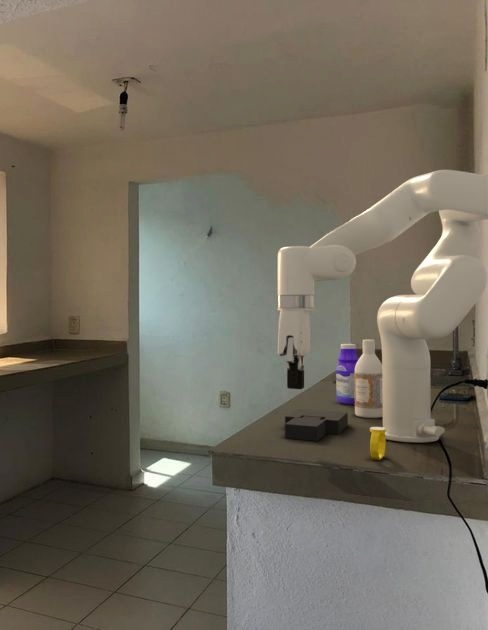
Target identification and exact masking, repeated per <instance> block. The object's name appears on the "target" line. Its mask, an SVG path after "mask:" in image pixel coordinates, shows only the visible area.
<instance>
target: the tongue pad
mask: <svg viewBox="0 0 488 630" xmlns="http://www.w3.org/2000/svg"><path fill="white" fill-rule="evenodd" d="M326 434H327V433H326V420H322V418H321V417H308V416H304V417H302V418H293V419H292V420H290V421H289V422H287V423H286V424H285V423H284V438H285V439H291V440H302V441H313V442H318V441H319V440H320V439H322V438H323V437H324V436H325V435H326Z"/></svg>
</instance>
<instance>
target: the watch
mask: <svg viewBox="0 0 488 630" xmlns="http://www.w3.org/2000/svg"><path fill="white" fill-rule="evenodd" d="M369 432H370V433H371V434H370V441H369V449H370V450H369V452H370V457H371V458H372V459H373V460H376V461H381V460H382V459H383V457H385V454H386V445H387V444H386V443H387V442H386V441H387V439H386V438H385V432H386V429H385V428H383V426H370V427H369Z"/></svg>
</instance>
